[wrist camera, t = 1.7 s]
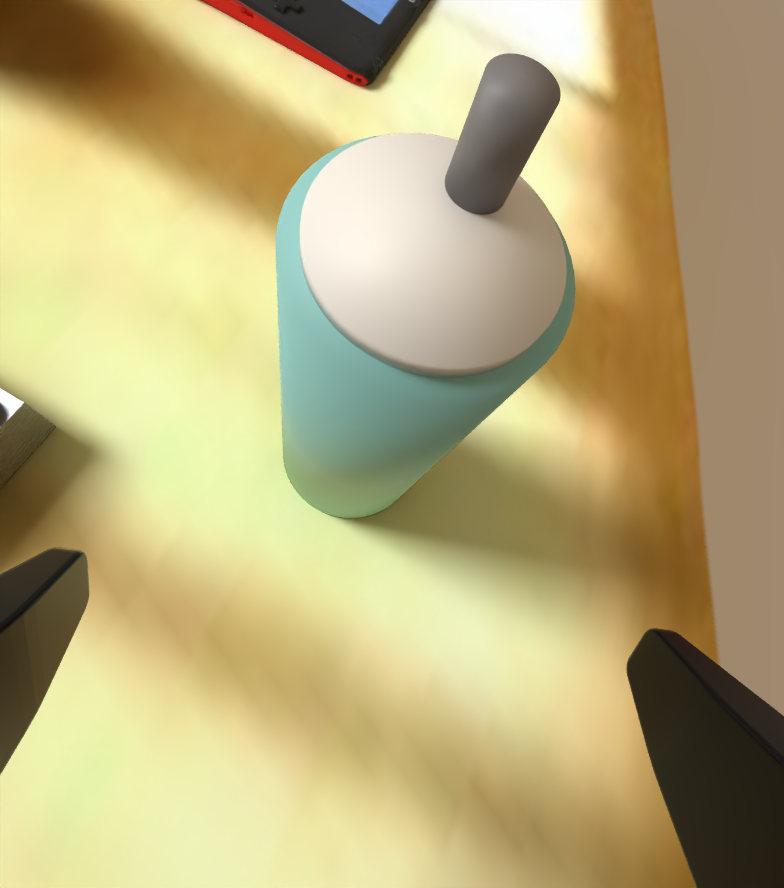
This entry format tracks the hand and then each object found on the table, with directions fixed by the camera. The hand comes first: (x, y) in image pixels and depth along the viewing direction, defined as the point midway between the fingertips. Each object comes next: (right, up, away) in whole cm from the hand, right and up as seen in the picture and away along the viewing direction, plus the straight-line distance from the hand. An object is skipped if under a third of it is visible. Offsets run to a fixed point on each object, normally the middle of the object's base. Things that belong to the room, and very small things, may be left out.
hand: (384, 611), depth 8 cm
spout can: (-2, +2, +13) cm, 14 cm away
